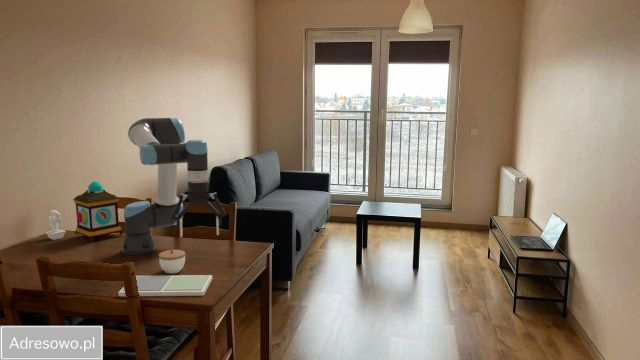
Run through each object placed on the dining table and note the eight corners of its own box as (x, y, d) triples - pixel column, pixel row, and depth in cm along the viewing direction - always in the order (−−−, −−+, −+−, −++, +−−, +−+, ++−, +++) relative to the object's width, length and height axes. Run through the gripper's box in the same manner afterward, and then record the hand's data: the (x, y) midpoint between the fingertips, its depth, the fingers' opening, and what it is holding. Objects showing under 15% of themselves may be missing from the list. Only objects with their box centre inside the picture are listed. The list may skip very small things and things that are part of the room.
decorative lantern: (108, 229, 264) (104, 177, 260) (126, 235, 252) (122, 180, 247) (71, 237, 249) (66, 181, 244) (88, 244, 237) (84, 185, 232)
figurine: (58, 235, 252) (56, 208, 250) (67, 238, 247) (65, 210, 245) (44, 238, 247) (42, 210, 244) (53, 241, 241) (50, 212, 239)
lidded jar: (178, 276, 193) (177, 254, 191) (154, 274, 195) (153, 252, 193) (190, 267, 203) (189, 246, 202) (167, 265, 205) (166, 245, 204)
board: (118, 296, 172) (118, 291, 172) (135, 279, 189) (134, 275, 189) (203, 295, 173) (203, 290, 173) (212, 278, 190) (212, 274, 190)
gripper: (162, 183, 171) (165, 239, 175) (232, 181, 177) (233, 235, 181) (164, 180, 178) (166, 234, 182) (230, 178, 184) (231, 230, 188)
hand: (199, 235), depth 181 cm, fingers open, 13 cm apart
